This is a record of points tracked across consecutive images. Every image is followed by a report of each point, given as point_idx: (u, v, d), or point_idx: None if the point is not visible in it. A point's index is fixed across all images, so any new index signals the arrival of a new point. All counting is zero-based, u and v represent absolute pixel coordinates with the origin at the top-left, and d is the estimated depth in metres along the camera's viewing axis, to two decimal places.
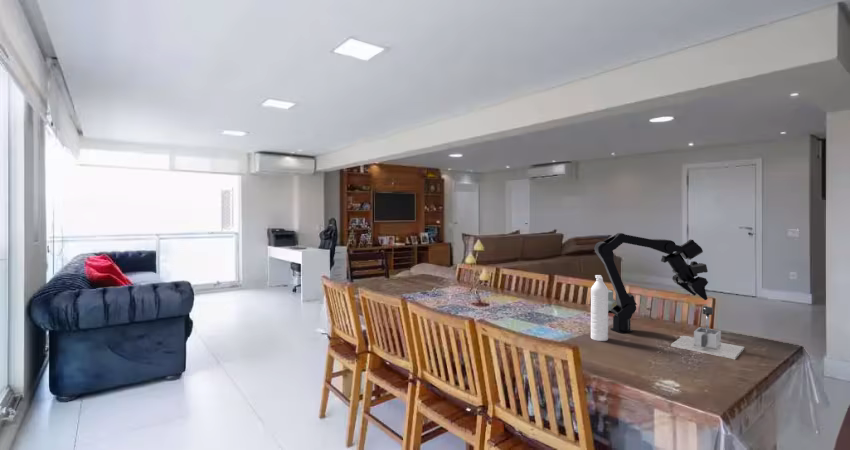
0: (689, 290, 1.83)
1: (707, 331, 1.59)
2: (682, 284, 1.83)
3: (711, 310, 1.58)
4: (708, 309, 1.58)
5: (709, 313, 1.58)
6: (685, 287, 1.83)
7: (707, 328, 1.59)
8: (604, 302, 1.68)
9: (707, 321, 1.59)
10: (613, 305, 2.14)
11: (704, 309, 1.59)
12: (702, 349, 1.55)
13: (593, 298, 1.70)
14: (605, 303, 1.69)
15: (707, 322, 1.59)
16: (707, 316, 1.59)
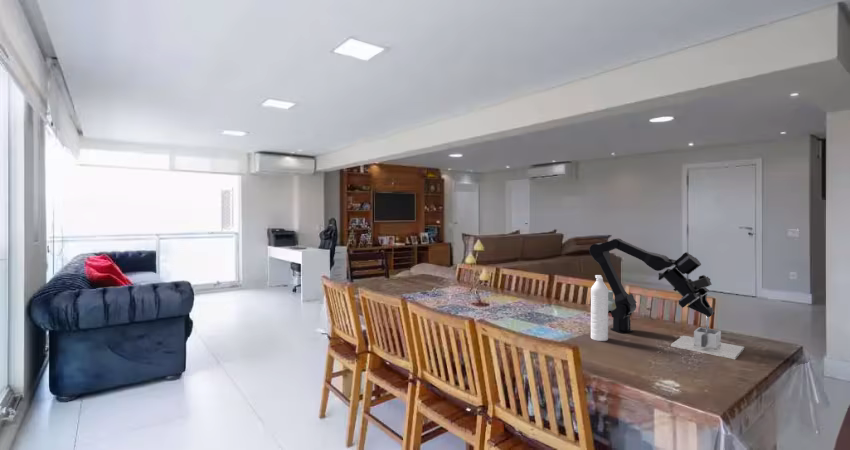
0: None
1: (707, 331, 1.59)
2: None
3: (711, 310, 1.58)
4: (708, 309, 1.58)
5: None
6: None
7: (707, 328, 1.59)
8: (604, 302, 1.68)
9: (707, 321, 1.59)
10: (613, 305, 2.14)
11: None
12: (702, 349, 1.55)
13: (593, 298, 1.70)
14: (605, 303, 1.69)
15: (707, 322, 1.59)
16: (707, 316, 1.59)
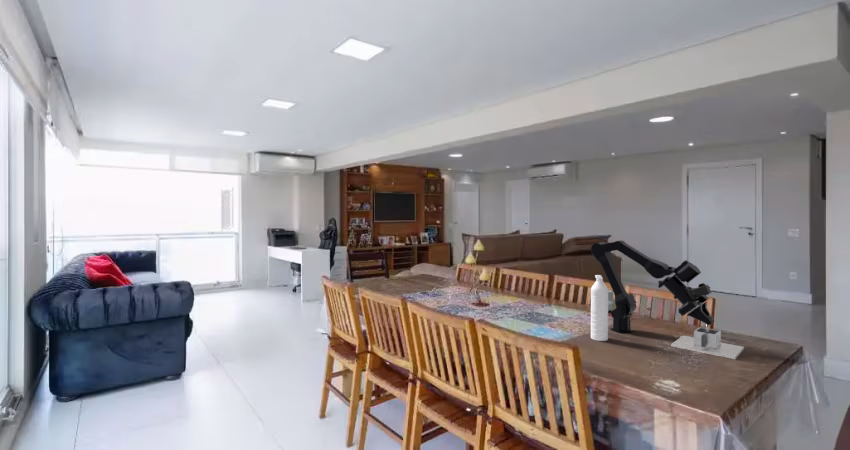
0: None
1: None
2: None
3: (711, 318, 1.58)
4: (708, 317, 1.58)
5: None
6: None
7: None
8: (604, 302, 1.68)
9: (707, 329, 1.59)
10: (613, 305, 2.14)
11: None
12: (702, 349, 1.55)
13: (593, 298, 1.70)
14: (605, 303, 1.69)
15: (707, 330, 1.59)
16: (707, 324, 1.59)
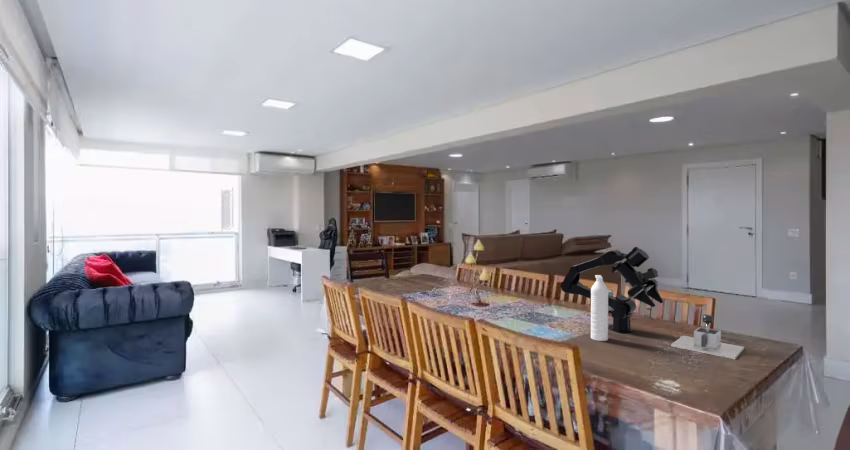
0: (655, 298, 1.77)
1: None
2: (647, 292, 1.79)
3: (711, 318, 1.58)
4: (708, 317, 1.58)
5: (709, 321, 1.58)
6: (651, 295, 1.78)
7: None
8: (604, 302, 1.68)
9: (707, 329, 1.59)
10: None
11: (704, 317, 1.59)
12: (702, 349, 1.55)
13: (593, 298, 1.70)
14: (605, 303, 1.69)
15: (707, 330, 1.59)
16: (707, 324, 1.59)
